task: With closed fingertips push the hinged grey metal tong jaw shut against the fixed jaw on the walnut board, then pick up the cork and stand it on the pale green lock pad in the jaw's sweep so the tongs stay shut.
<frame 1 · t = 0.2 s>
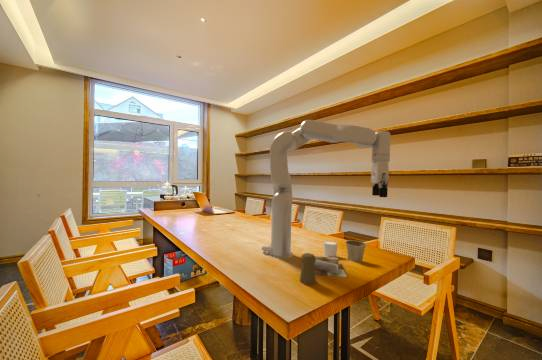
hand: (379, 196, 108), 31 cm above the table, fingers open, 9 cm apart
flower pot: (355, 261, 110), on the table
jaw: (319, 264, 96), point 3 cm above the table, hinge at 30.0°
board: (323, 271, 97), on the table
shot glass: (329, 257, 115), on the table
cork: (307, 285, 85), on the table
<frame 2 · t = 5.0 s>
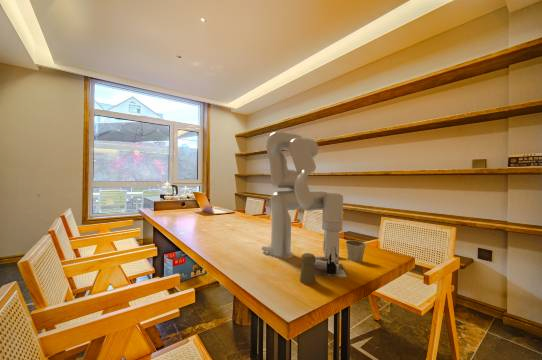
hand: (330, 273, 90), 2 cm above the table, fingers closed
jaw: (319, 263, 96), point 3 cm above the table, hinge at 28.9°, touching gripper
everything else where it was.
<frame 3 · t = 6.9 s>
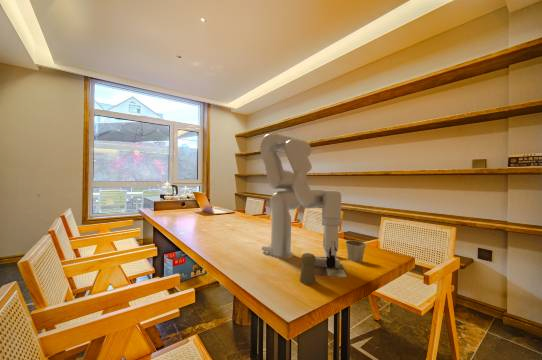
hand: (330, 266, 95), 3 cm above the table, fingers closed
jaw: (321, 261, 99), point 3 cm above the table, hinge at 1.6°
everything else where it was.
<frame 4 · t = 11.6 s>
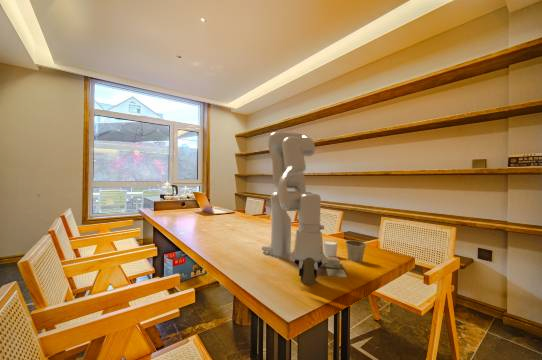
hand: (307, 278, 85), 2 cm above the table, fingers closed on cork, 3 cm apart
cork: (308, 285, 85), on the table, touching gripper
everything else where it was.
when the fingers open (4 cm above the table, at t = 15.9 s): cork stays where it is, resting on board.
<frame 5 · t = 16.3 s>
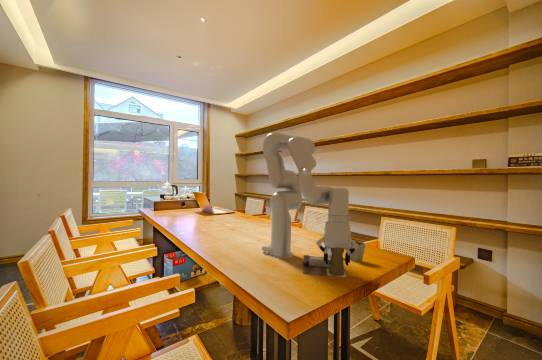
hand: (336, 263, 93), 5 cm above the table, fingers open, 7 cm apart
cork: (336, 273, 93), point 1 cm above the table, touching board
everything else where it was.
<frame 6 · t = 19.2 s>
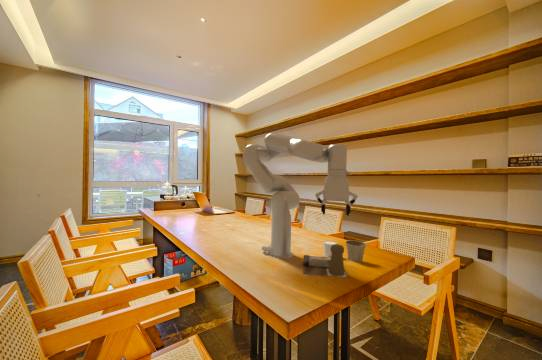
hand: (335, 214, 99), 23 cm above the table, fingers open, 9 cm apart
nothing on the table moved.
at the end: jaw at +2° (first picture: +30°); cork inside the target area (0.1 cm from its centre), point 1.1 cm above the table; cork tilted 0° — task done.
